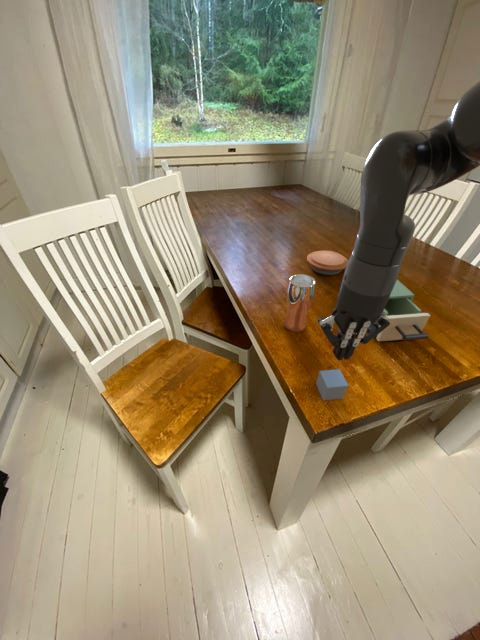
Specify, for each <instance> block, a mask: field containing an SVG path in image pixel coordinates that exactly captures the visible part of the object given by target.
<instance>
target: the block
mask: <svg viewBox="0 0 480 640" xmlns="http://www.w3.org/2000/svg"><path fill="white" fill-rule="evenodd" d="M315 385H316V387H317V390H318V392H319V395H320V397H321V399H322V401H323V402H324V401H335V400H342V399H344V397H345V395H346V392H347V390H348V387H349V384H348V382H347V380H346V378H345V377H344V375H343V373H342V371H341V369H340V368H335V369H325V370H324V369H323V370H319V372H318V376H317V379H316V382H315Z"/></svg>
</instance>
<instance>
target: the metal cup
mask: <svg viewBox="0 0 480 640" xmlns="http://www.w3.org/2000/svg"><path fill="white" fill-rule="evenodd" d="M316 282H317V281H316V279H315V278H314V277H313V276H311V275H308V274H303V273H298V274H297V273H296V274H294V275H292V276H290V278H289V282H288V286H287V291H286V311H287V312H286V317H285V320H284V327H285V328H286V330H288V331H291V332H294V333H299V332H302V331H304V330H305V329H306V325H307V323H306V320H307V319H306V318H307V315H308V313H309V311H310V308H311V306H312V303H313V300H314V297H315V291H316V284H317V283H316Z"/></svg>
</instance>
